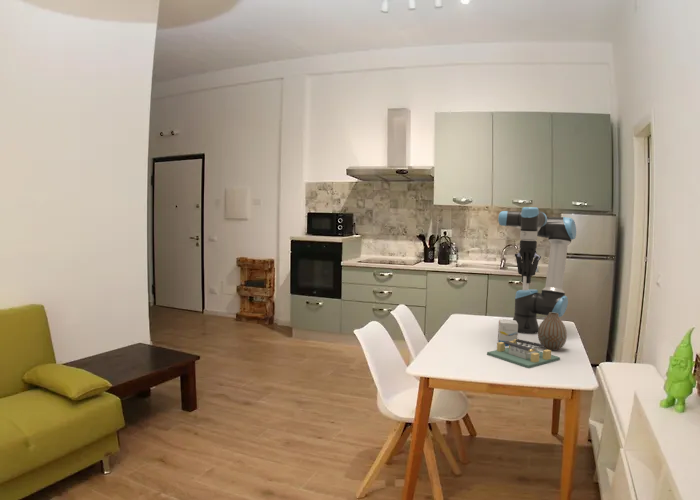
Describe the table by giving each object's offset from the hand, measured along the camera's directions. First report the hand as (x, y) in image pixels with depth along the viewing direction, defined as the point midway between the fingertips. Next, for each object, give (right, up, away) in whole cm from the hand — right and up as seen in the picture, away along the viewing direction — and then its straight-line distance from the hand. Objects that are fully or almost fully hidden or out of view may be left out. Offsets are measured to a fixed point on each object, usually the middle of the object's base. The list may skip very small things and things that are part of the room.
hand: (525, 289), depth 228 cm
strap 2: (-1, -24, -6) cm, 25 cm away
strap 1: (-7, -25, -11) cm, 28 cm away
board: (-4, -30, -8) cm, 32 cm away
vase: (+15, -30, +7) cm, 34 cm away
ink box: (-4, -29, +13) cm, 32 cm away
